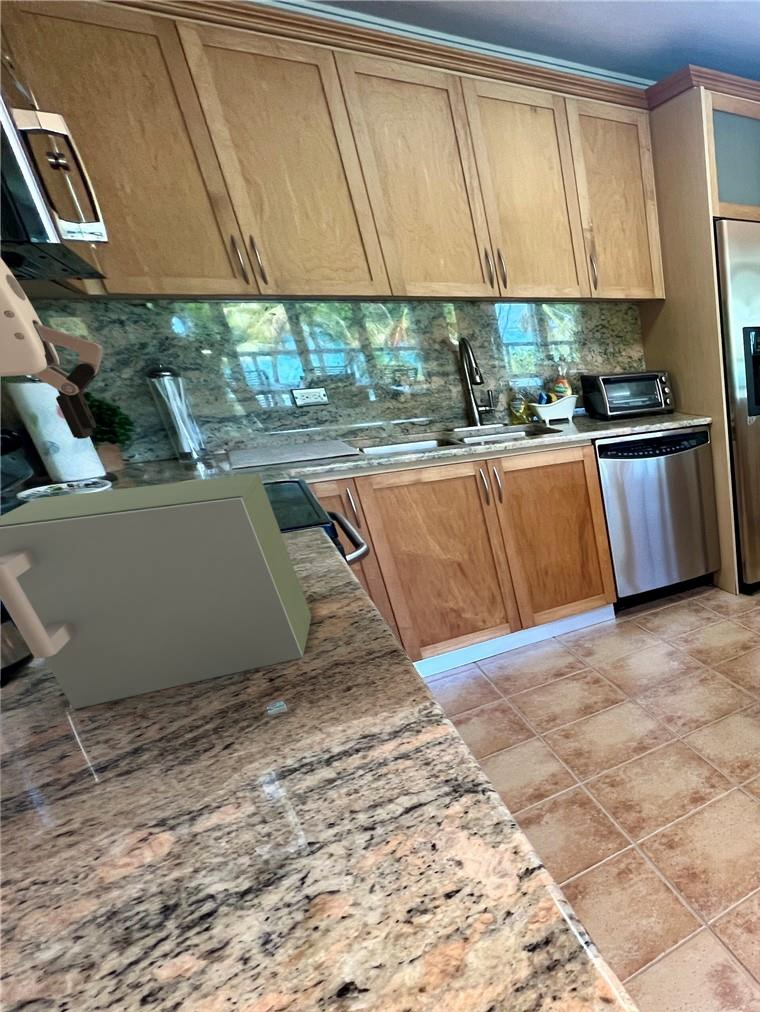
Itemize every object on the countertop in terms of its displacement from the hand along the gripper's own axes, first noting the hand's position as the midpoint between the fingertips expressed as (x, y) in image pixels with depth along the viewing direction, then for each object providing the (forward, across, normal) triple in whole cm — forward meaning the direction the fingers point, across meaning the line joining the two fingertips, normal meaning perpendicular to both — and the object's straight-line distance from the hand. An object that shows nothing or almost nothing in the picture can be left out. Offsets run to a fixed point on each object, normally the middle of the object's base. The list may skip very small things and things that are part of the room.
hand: (12, 442), depth 60 cm
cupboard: (+30, -4, -14) cm, 34 cm away
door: (+30, -3, -3) cm, 30 cm away
